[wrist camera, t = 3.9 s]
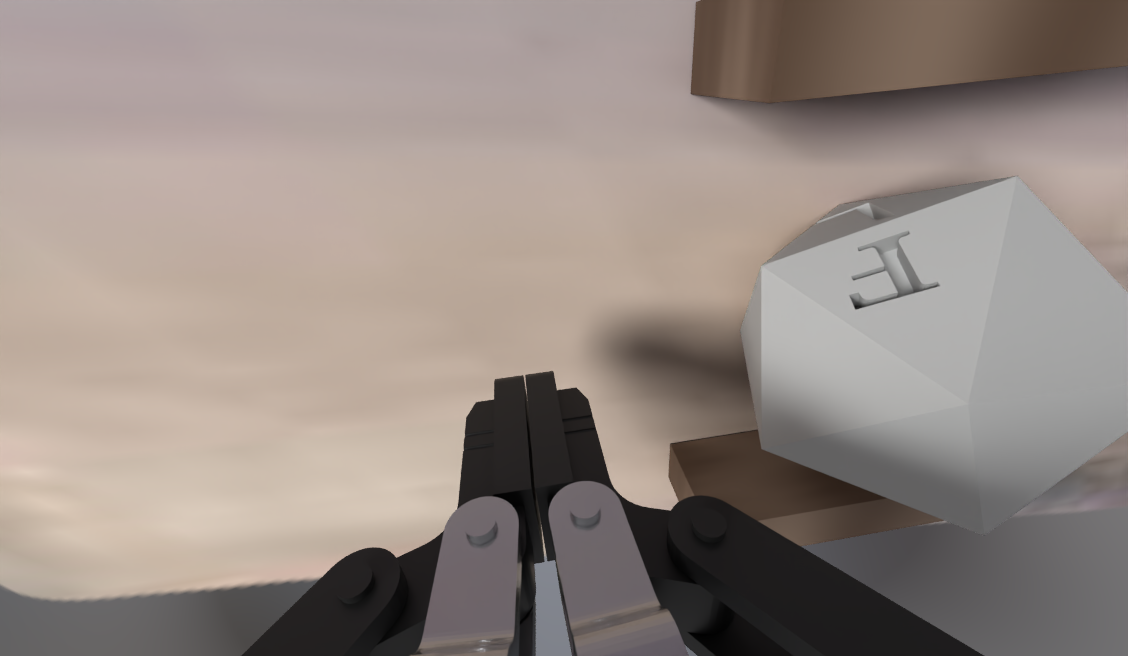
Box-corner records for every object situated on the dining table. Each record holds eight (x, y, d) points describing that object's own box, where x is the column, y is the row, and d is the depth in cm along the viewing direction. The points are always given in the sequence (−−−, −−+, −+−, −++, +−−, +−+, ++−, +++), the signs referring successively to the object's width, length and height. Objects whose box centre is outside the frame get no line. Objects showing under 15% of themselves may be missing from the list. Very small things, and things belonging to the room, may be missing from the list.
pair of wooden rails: (1134, -36, 12) (1400, -81, 8) (921, 435, 20) (1007, 509, 17) (696, 2, 11) (788, -31, 7) (668, 476, 19) (705, 563, 16)
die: (968, 156, 15) (1244, 41, 6) (1053, 400, 15) (1436, 625, 6) (720, 251, 18) (671, 263, 10) (790, 444, 19) (802, 621, 10)
